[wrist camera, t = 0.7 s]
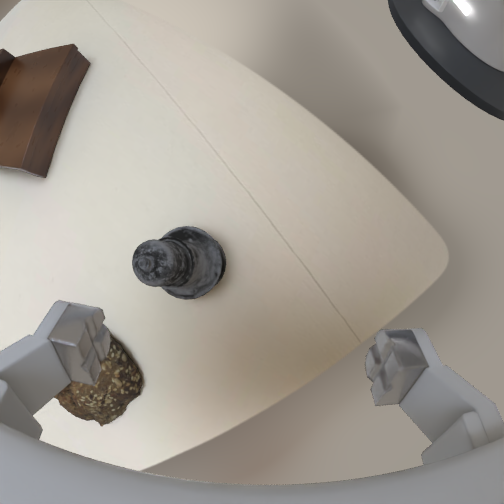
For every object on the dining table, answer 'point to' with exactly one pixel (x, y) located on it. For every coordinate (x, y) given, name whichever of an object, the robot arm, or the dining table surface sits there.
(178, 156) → the dining table surface
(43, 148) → the shelf
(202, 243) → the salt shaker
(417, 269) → the dining table surface
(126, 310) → the dining table surface
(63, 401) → the bread roll
